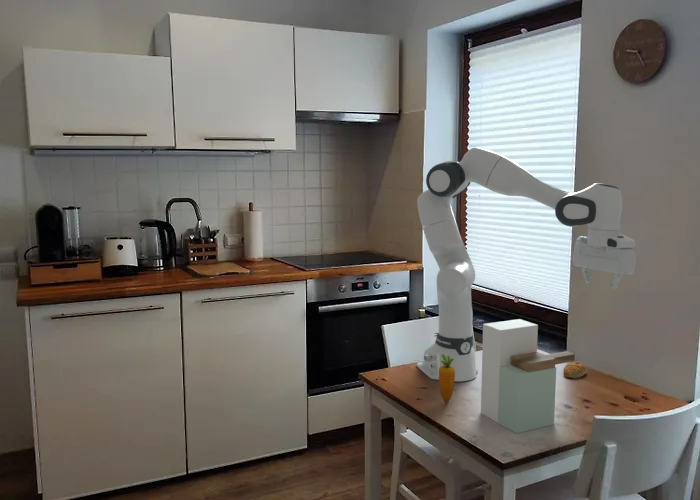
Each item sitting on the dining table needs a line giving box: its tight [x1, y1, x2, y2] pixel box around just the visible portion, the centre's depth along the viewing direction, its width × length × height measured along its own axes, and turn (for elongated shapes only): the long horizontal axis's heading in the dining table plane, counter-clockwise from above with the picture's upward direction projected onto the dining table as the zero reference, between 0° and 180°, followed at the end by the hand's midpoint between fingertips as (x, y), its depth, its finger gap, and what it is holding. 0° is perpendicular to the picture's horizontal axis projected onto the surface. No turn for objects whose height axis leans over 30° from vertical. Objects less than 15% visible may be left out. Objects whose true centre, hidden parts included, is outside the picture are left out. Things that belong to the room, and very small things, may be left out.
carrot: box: [438, 354, 456, 405], centre depth 177 cm, size 5×5×15 cm
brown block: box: [511, 350, 576, 372], centre depth 164 cm, size 7×18×2 cm, turn 115°
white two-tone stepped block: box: [480, 318, 557, 434], centre depth 165 cm, size 15×13×26 cm
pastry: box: [562, 361, 587, 379], centre depth 202 cm, size 9×7×4 cm
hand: (600, 285), depth 177 cm, fingers open, 8 cm apart
